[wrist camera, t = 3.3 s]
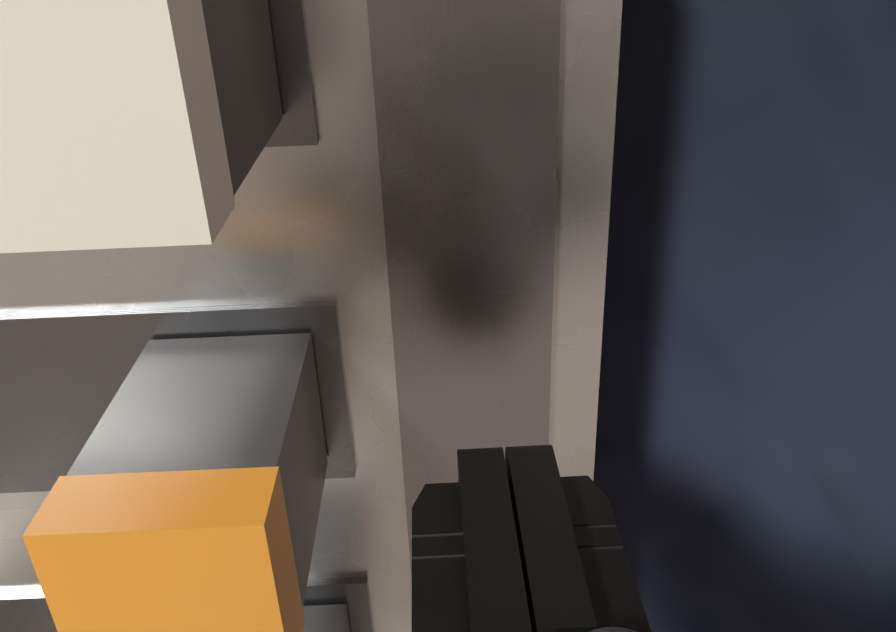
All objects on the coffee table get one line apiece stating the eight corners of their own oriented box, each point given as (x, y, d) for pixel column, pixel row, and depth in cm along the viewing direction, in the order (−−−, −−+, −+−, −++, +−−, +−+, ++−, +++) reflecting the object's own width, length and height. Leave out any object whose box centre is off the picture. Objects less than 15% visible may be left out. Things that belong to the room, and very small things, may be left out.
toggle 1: (258, -93, 12) (151, -81, 7) (286, 120, 13) (211, 244, 9) (45, -84, 12) (-202, -68, 7) (95, 129, 13) (-82, 256, 9)
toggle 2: (313, 330, 15) (263, 525, 10) (330, 464, 16) (294, 687, 12) (145, 337, 15) (22, 535, 10) (178, 470, 16) (81, 696, 12)
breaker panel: (593, -137, 14) (634, -143, 12) (563, 592, 23) (582, 692, 20) (-759, -82, 14) (-1050, -75, 12) (-291, 631, 23) (-392, 736, 20)
